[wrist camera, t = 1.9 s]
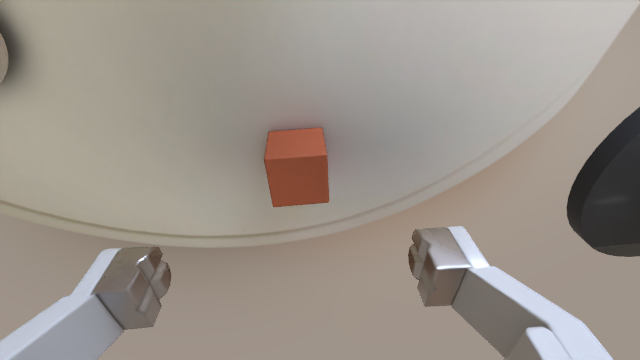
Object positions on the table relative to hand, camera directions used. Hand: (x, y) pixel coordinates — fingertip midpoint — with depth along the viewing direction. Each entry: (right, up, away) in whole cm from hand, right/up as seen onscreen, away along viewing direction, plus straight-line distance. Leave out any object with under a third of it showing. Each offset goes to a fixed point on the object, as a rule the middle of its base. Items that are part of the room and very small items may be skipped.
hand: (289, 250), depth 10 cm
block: (-1, +5, +16) cm, 16 cm away
